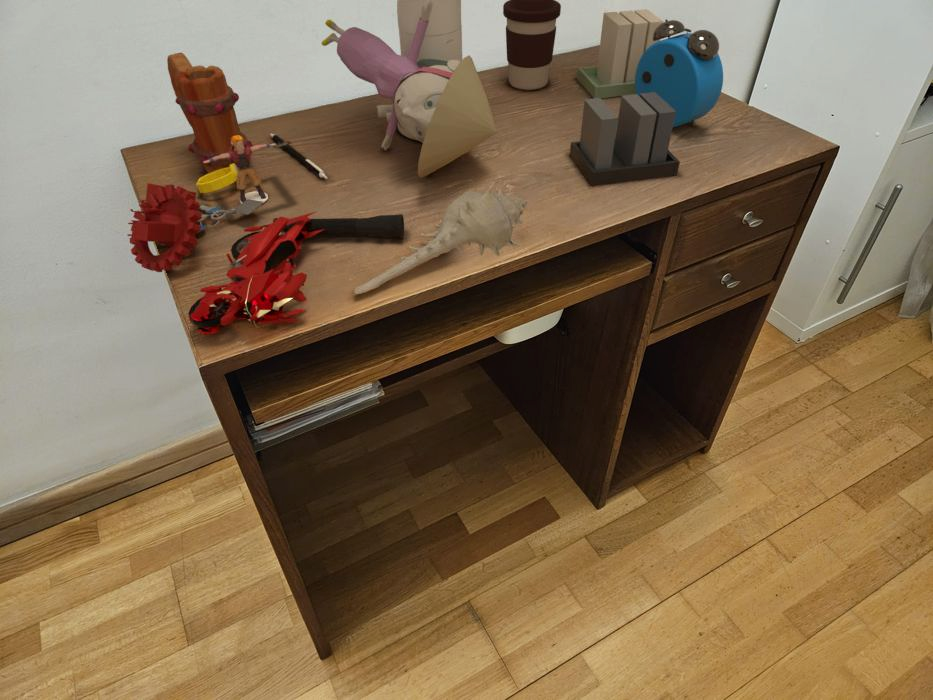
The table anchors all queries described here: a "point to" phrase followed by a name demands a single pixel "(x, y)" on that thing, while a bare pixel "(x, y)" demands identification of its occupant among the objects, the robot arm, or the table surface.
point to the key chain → (229, 211)
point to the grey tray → (622, 168)
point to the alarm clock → (682, 71)
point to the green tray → (598, 88)
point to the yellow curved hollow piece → (218, 179)
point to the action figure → (246, 167)
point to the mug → (206, 109)
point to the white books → (639, 38)
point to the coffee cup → (530, 41)
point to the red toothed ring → (165, 226)
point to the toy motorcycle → (257, 278)
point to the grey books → (627, 130)
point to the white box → (613, 48)
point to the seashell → (463, 231)
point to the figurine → (421, 93)
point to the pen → (300, 157)
